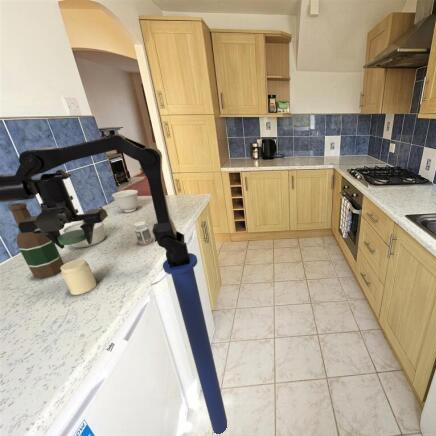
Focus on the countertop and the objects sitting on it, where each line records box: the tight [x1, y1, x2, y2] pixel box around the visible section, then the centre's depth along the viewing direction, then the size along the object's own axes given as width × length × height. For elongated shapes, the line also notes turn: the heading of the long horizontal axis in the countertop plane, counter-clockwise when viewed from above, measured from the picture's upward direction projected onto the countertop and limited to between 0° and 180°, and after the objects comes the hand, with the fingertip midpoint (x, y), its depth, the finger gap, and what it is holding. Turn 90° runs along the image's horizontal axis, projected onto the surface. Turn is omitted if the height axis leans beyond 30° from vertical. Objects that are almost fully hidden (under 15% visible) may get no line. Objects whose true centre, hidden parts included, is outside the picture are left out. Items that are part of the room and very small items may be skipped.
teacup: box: [111, 189, 139, 213], centre depth 132 cm, size 12×15×10 cm
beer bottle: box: [8, 202, 65, 279], centre depth 76 cm, size 8×8×24 cm
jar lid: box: [57, 229, 86, 246], centre depth 72 cm, size 7×7×2 cm
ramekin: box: [61, 221, 106, 248], centre depth 99 cm, size 13×13×7 cm
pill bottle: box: [133, 221, 153, 246], centre depth 97 cm, size 5×5×8 cm
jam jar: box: [60, 258, 97, 296], centre depth 71 cm, size 6×6×8 cm
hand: (76, 245), depth 72 cm, fingers closed on jar lid, 6 cm apart
